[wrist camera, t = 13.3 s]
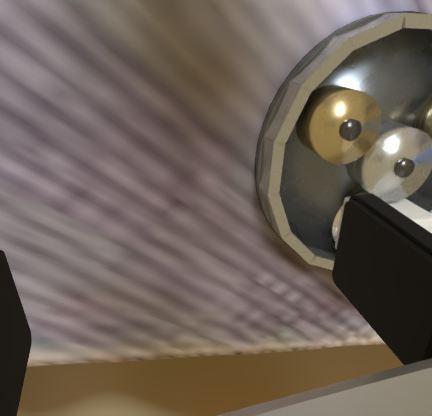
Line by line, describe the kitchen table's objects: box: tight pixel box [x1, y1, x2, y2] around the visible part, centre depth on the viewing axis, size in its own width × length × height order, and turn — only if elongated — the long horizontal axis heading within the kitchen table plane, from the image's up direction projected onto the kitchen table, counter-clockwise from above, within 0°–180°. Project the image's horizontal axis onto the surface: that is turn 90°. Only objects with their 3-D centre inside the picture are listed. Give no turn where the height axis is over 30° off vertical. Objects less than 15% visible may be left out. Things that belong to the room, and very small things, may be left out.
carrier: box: [255, 11, 432, 270], centre depth 41 cm, size 29×29×6 cm
